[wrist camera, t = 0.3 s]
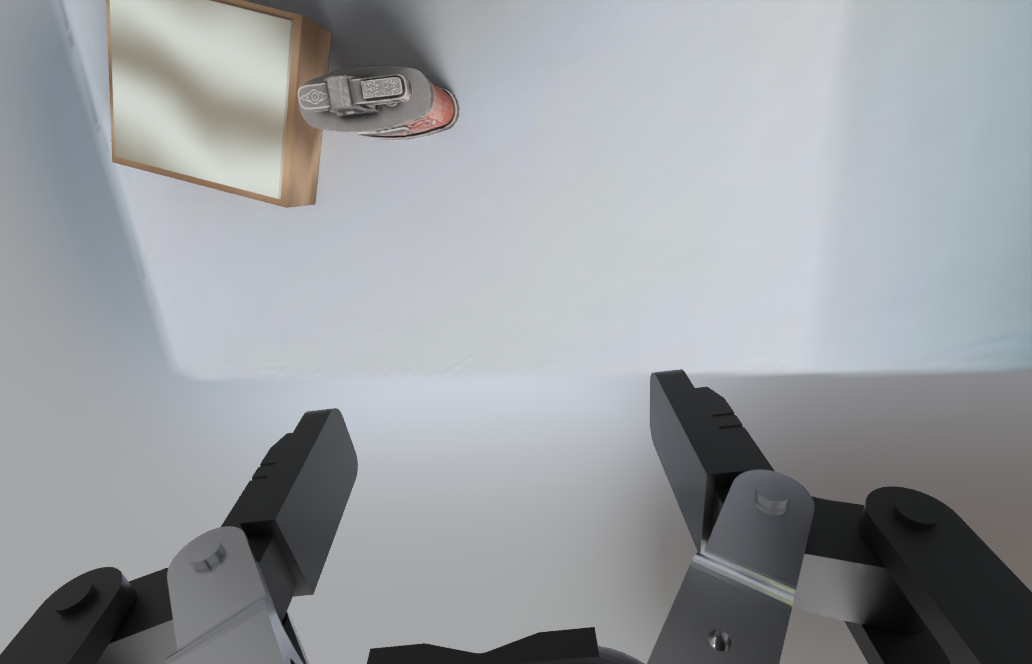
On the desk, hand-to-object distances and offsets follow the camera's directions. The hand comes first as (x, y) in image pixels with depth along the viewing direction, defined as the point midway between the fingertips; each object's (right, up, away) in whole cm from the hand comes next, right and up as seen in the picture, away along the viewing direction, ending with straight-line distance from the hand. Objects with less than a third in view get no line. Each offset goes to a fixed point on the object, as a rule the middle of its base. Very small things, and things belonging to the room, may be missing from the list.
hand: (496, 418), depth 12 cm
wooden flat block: (-20, +19, +24) cm, 37 cm away
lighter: (-8, +18, +23) cm, 30 cm away
